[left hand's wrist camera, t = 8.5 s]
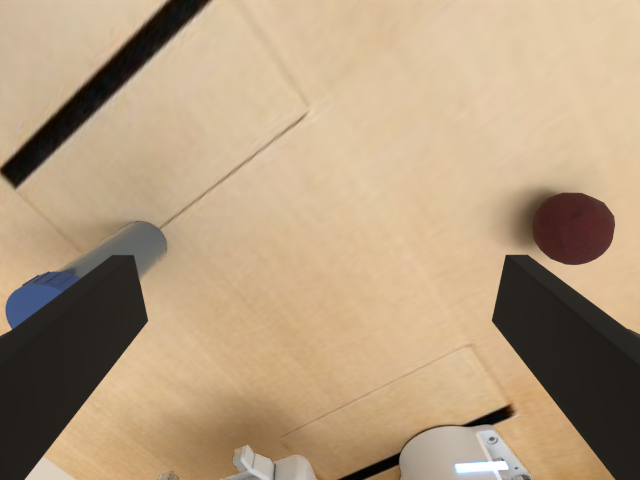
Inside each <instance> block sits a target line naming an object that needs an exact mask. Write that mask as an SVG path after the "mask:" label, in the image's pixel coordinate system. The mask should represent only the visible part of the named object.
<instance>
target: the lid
mask: <svg viewBox="0 0 640 480" xmlns="http://www.w3.org/2000/svg"><path fill="white" fill-rule="evenodd" d="M79 279H81V278H80V277H78V276H76V275H73V274H70V273H66V272H61V271H60V272H47V273H44V274H42V275H40V276H39V275H37V276H36V277H34V278H33V279H31V280H29V281H28V282H26V283H25V284H23V285H22V287H20V288H19V289H17V290H16V291H14V292H13V293H12V294H11V295H10V297H9V298H8V300H7V303H6V317H7V320H8V323H9V325H10V326H11V328H12V329H14V328H15V327H16V326H18V325H19V324H20V323H22V322H23V321H24V320H26V319H27V318H28V317H30V316H31V315H32V314H34V313H35V312H36V311H38V310H39V309H40V308H42V307H43V306H45V305H46V304H47V303H49V302H50V301H51V300H53V299H54V298H55V297H57V296H58V295H59V294H61V293H62V292H63V291H65V290H66V289H67V288H69V287H70V286H71V285H73V284H74V283H75V282H77V281H78V280H79Z"/></svg>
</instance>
